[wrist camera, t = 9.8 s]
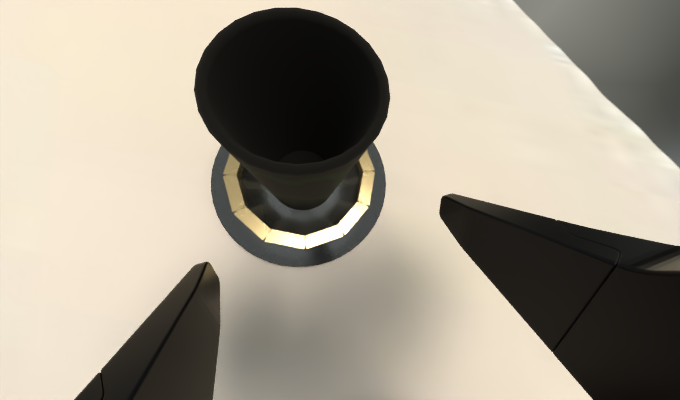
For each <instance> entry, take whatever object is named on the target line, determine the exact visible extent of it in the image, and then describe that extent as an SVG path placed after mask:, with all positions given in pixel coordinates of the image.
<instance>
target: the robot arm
mask: <svg viewBox="0 0 680 400" xmlns="http://www.w3.org/2000/svg"><path fill="white" fill-rule="evenodd" d="M439 213H440V217H441V219H442V220H443V222H444V223H445V225H446V226H447V227H448V229H449V230H450V232H451V233H452V235H453V236H454V237H455V239H456V240H457V242H458V243H459V244H460V246H461V247H462V248H463V250H464V251H465V252H466V253H467V254H468V255H469V257H470V258H471V259H472V260H473V261H474V262H475V263H476V265H477V266H478V267H479V268H480V269H481V270H482V272H483V273H484V274H485V275H486V276H487V277H488V279H489V280H490V281H491V282H492V283H493V284H494V285H495V287H496V288H497V289H498V290H499V291H500V292H501V294H502V295H503V296H504V297H505V298H506V299H507V300H508V302H509V303H510V304H511V305H512V306H513V307H514V309H515V310H516V311H517V312H518V313H519V314H520V315H521V317H522V318H523V319H524V320H525V321H526V322H527V324H528V325H529V326H530V327H531V328H532V329H533V331H534V332H535V333H536V334H537V335H538V336H539V337H540V339H541V340H542V341H543V342H544V343H545V344H546V346H547V347H548V348H549V349H550V350H551V351H552V352H553V354H554V355H555V356H556V357H557V358H558V360H559V361H560V362H561V363H562V364H563V365H564V367H565V368H566V369H567V370H568V371H569V372H570V373H571V375H572V376H573V377H574V378H575V379H576V380H577V382H578V383H579V384H580V385H581V386H582V387H583V389H584V390H585V391H586V392H587V393H588V394H589V395H590V397H591V398H592V399H593V400H680V246H674V245H669V244H664V243H659V242H654V241H649V240H644V239H640V238H635V237H630V236H625V235H620V234H616V233H611V232H606V231H602V230H597V229H593V228H588V227H584V226H580V225H576V224H572V223H568V222H564V221H560V220H557V221H556V220H555V219H552V218H548V217H544V216H540V215H536V214H532V213H528V212H524V211H520V210H516V209H512V208H508V207H504V206H500V205H496V204H492V203H488V202H484V201H480V200H476V199H472V198H468V197H464V196H460V195H456V194H448V195H444V196H443V197H442V198H441V204H440V212H439ZM219 335H220V282H219V278H218V276H217V274H216V273H215V271H214V269H213V267H212V266H211V264H210V263H209V262H204V263H200V264H197V265H195V266H193V268H192V269H191V270H190V271H189V272H188V273H187V274H186V275H185V276H184V278H183V279H182V280H181V281H180V282H179V283H178V284H177V285H176V287H175V288H174V289H173V290H172V291H171V292H170V293H169V294H168V296H167V297H166V298H165V299H164V300H163V301H162V302H161V303H160V304H159V306H158V307H157V308H156V309H155V310H154V311H153V312H152V313H151V315H150V316H149V317H148V318H147V319H146V320H145V321H144V322H143V324H142V325H141V326H140V327H139V328H138V329H137V330H136V331H135V332H134V334H133V335H132V336H131V337H130V338H129V339H128V340H127V341H126V343H125V344H124V345H123V346H122V347H121V348H120V349H119V350H118V352H117V353H116V354H115V355H114V356H113V357H112V358H111V359H110V360H109V362H108V363H107V364H106V365H105V366H104V367H103V368H102V370H101V373H98V374H97V375H96V376H95V377H94V378H93V379H92V381H91V382H90V383H89V384H88V385H87V386H86V387H85V388H84V389H83V391H82V392H81V393H80V394H79V395H78V396H77V397H76V398H75V399H74V400H213V391H214V382H215V373H216V363H217V354H218V344H219Z"/></svg>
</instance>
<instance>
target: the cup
mask: <svg viewBox="0 0 680 400" xmlns="http://www.w3.org/2000/svg"><path fill="white" fill-rule="evenodd" d="M194 92H195V97H196V102H197V107H198V112H199V113H200V115H201V117H202V119H203V121H204V123H205V125H206V127H207V129H208V131H209V132H210V133H211V134H212V135H213V136H214V138H215V139H216V140H217V141H218V142H219V143H220V144H221V145H222V146H223V147H224V148H225V149H226V150H227V151H228V152H229V153H230V154H231V155H232V156H233V157H234V158H235V159H236V160H237V161H238V162H239V163H240V164H241V165H242V166H243V167H244V168H246V169H247V170H248V171H249V172H250V173H251V174H252V175H253V176H254V177H255V178H256V179H257V180H258V181H259V182H260V183H261V184H262V185H263V186H264V187H265V188H266V189H267V190H268V191H270V192H271V193H272V194H273V195H274V196H275V197H276V198H277V199H278V200H279V201H280V202H281V203H282V204H284V205H286V206H287V207H289V208H292V209H295V210H310V209H313V208H316V207H318V206H320V205H321V204H323V203H324V202H325V201H326V200H327V199H328V198H329V197H330V195H331V194H332V193H333V192H334V190H335V189H336V188H337V187H338V185H339V184H340V183H341V182H342V180H343V179H344V178H345V177H346V175H347V174H348V173H349V172H350V170H351V169H352V168H353V166H354V165H355V164H356V163H357V161H358V160H359V159H360V158H361V156H362V155H363V154H364V153H365V151H366V150H367V149H368V148H369V146H370V145H371V144H372V143H373V141H374V140H375V139H376V138H377V136H378V135H379V133H380V131H381V129H382V127H383V124H384V122H385V120H386V118H387V114H388V108H389V102H390V93H389V84H388V78H387V75H386V72H385V70H384V67H383V65H382V62H381V60H380V59H379V57H378V56H377V54H376V53H375V51H374V50H373V48H372V47H371V46H370V44H369V43H368V42H367V41H366V40H365V39H363V38H362V37H361V36H360V35H359V34H358V33H357V32H356V31H355V30H354V29H352V28H351V27H349V26H347V25H346V24H344V23H342V22H341V21H339V20H338V19H335V18H333V17H330V16H328V15H325V14H322V13H320V12H317V11H311V10H306V9H300V8H272V9H267V10H262V11H257V12H254V13H251V14H249V15H247V16H244V17H242V18H240V19H237V20H235V21H234V22H232V23H231V24H230V25H228V26H227V27H226V28H224V29H223V30H222V31H220V32H219V33H218V34H217V35H216V36H215V38H214V39H213V40H212V41H211V42H210V44H209V45H208V46H207V47H206V49H205V50H204V52H203V55H202V57H201V59H200V62H199V64H198V66H197V69H196V77H195V86H194Z"/></svg>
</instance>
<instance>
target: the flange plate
mask: <svg viewBox="0 0 680 400" xmlns="http://www.w3.org/2000/svg"><path fill="white" fill-rule="evenodd" d="M385 188H386V181H385V172H384V167H383V163H382V160H381V157H380V154H379V152H378V150H377V148H376V146H375V145H374V143H372V144H371V145H370V146H369V148H368V149H367V150H366V151H365V153H364V154H363V155H362V156H361V158H360V159H359V160H358V161H357V163H356V164H355V165H354V166H353V168H352V169H351V170H350V172H349V173H348V174H347V175H346V177H345V178H344V179H343V180H342V182H341V183H340V184H339V185H338V187H337V188H336V189H335V190H334V192H333V193H332V194H331V195H330V197H329V198H328V199H327V200H326V201H325V202H324V203H323V204H321V205H320V206H318V207H316V208H313V209H310V210H295V209H292V208H289V207H287V206H286V205H284V204H282V203H281V202H280V201H279V200H278V199H277V198H276V197H275V196H274V195H273V194H272V193H271V192H270V191H268V190H267V189H266V188H265V187H264V186H263V185H262V184H261V183H260V182H259V181H258V180H257V179H256V178H255V177H254V176H253V175H252V174H251V173H250V172H249V171H248V170H247V169H246V168H244V167H243V166H242V165H241V164H240V163H239V162H238V161H237V160H236V159H235V158H234V157H233V156H232V155H231V154H230V153H229V152H228V151H227V150H226V149H225V148H224V147H223V146H222V145H221V147H220V149H219V151H218V154H217V156H216V158H215V162H214V165H213V169H212V177H211V192H212V198H213V204H214V207H215V210H216V213H217V215H218V217H219V219H220V221H221V223H222V225H223V226H224V228H225V229H226V231H227V232H228V233H229V235H230V236H231V237H232V238H233V239H234V240H235V241H236V242H237V243H238V244H239V245H240V246H242V247H243V248H244V249H245V250H247V251H248V252H250V253H252V254H253V255H255V256H257V257H259V258H261V259H264V260H266V261H268V262H272V263H276V264H279V265H285V266H294V267H296V266H312V265H319V264H322V263H325V262H329V261H332V260H334V259H336V258H338V257H341V256H342V255H344V254H346V253H347V252H349V251H351V250H352V249H353V248H354V247H356V246H357V245H358V244H359V243H360V242H361V241H362V240H363V239H364V238H365V237H366V236H367V235H368V234H369V232H370V231H371V229H372V228H373V227H374V225H375V223H376V221H377V219H378V217H379V215H380V212H381V210H382V207H383V203H384V198H385Z"/></svg>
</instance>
